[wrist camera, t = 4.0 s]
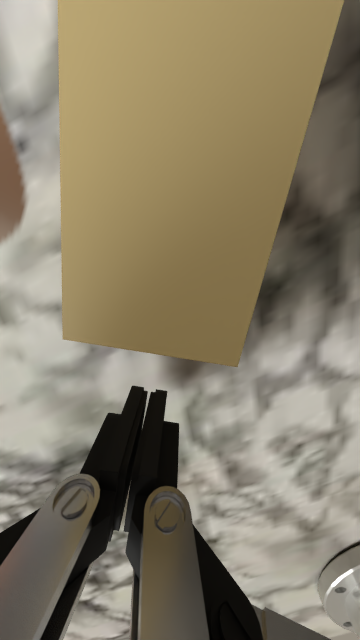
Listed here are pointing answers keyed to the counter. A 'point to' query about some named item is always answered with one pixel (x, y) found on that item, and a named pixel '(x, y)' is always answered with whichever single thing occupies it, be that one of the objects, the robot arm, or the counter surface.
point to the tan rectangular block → (179, 163)
